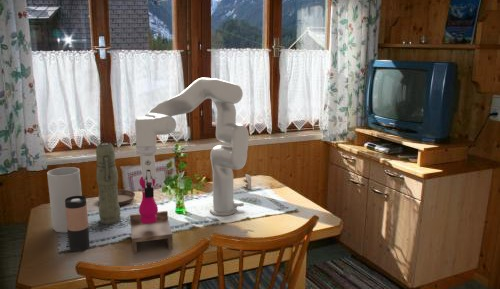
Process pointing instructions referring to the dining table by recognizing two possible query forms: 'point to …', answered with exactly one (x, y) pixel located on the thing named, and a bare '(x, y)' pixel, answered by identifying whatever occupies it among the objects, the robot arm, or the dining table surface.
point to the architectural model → (247, 181)
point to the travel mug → (77, 223)
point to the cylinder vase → (62, 193)
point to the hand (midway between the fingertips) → (148, 194)
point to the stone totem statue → (107, 184)
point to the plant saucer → (125, 196)
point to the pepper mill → (147, 205)
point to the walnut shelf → (150, 229)
